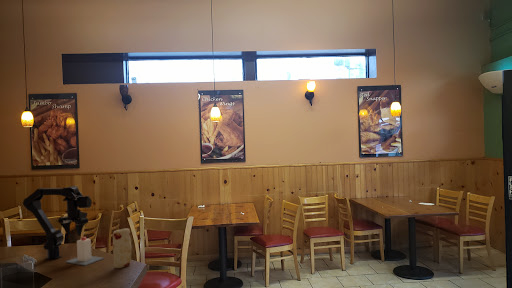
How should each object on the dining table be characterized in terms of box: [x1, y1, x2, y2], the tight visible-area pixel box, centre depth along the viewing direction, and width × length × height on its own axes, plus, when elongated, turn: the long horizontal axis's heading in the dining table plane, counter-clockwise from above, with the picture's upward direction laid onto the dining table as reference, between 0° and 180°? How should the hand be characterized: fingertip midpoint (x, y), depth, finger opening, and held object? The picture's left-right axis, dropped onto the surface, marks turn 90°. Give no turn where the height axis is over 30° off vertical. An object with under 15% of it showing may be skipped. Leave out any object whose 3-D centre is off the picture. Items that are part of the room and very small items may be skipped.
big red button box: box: [76, 236, 93, 261], centre depth 208 cm, size 5×5×12 cm
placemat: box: [65, 255, 105, 267], centre depth 208 cm, size 16×12×1 cm
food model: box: [112, 228, 132, 269], centre depth 195 cm, size 10×7×20 cm
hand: (73, 235), depth 215 cm, fingers open, 9 cm apart
